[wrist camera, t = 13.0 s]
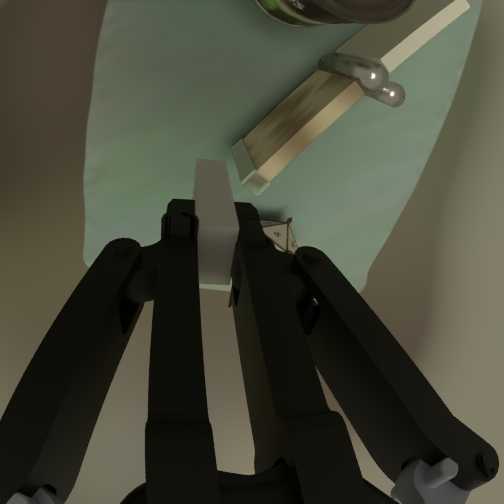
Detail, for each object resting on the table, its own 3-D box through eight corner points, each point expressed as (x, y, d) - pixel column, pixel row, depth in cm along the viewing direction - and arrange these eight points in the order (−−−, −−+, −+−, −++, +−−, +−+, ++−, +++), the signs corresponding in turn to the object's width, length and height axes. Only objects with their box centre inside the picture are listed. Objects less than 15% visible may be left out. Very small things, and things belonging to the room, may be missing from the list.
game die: (260, 204, 43) (307, 199, 35) (283, 259, 46) (331, 266, 37) (205, 234, 40) (243, 236, 31) (232, 292, 42) (274, 308, 34)
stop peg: (359, 67, 30) (396, 78, 24) (370, 83, 31) (409, 97, 25) (344, 80, 31) (379, 93, 24) (356, 95, 32) (392, 111, 26)
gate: (316, 67, 29) (353, 78, 22) (328, 80, 30) (367, 96, 23) (231, 148, 33) (240, 182, 26) (244, 159, 34) (257, 196, 27)
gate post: (329, 50, 28) (377, 57, 20) (343, 66, 30) (393, 79, 21) (314, 63, 29) (357, 74, 21) (328, 78, 30) (374, 96, 22)
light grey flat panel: (406, -5, 24) (462, -6, 16) (413, 5, 25) (470, 7, 17) (334, 51, 28) (380, 59, 21) (342, 61, 29) (389, 72, 21)
